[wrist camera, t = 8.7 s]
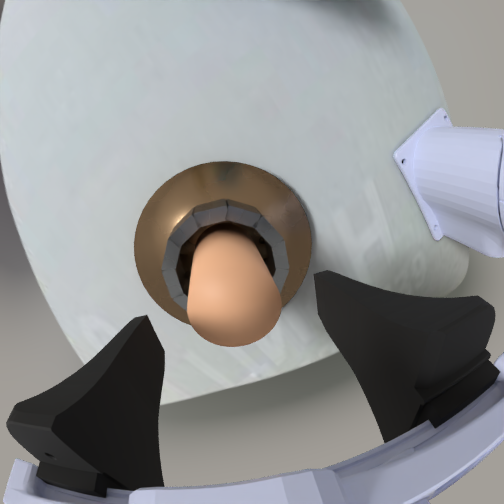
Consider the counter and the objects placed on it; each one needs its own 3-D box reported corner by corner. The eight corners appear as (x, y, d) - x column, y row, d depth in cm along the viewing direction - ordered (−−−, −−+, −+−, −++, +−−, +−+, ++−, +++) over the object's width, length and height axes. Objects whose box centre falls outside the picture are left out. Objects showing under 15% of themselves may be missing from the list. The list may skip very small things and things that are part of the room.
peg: (267, 254, 18) (299, 309, 12) (222, 291, 19) (231, 359, 12) (227, 209, 17) (239, 245, 10) (181, 251, 17) (167, 308, 11)
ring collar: (338, 252, 20) (358, 268, 17) (222, 350, 21) (225, 376, 18) (228, 123, 16) (231, 115, 13) (104, 252, 17) (87, 269, 14)
